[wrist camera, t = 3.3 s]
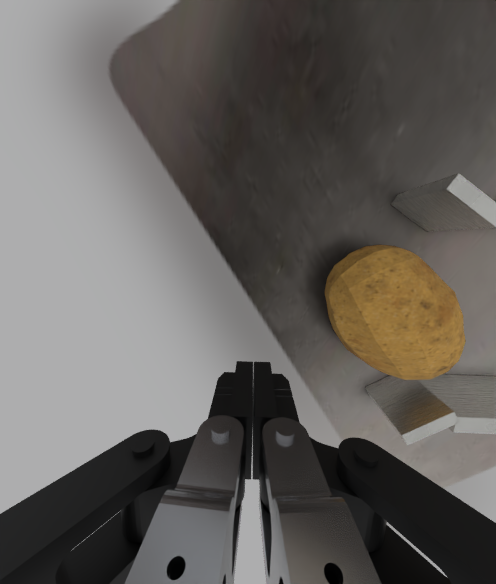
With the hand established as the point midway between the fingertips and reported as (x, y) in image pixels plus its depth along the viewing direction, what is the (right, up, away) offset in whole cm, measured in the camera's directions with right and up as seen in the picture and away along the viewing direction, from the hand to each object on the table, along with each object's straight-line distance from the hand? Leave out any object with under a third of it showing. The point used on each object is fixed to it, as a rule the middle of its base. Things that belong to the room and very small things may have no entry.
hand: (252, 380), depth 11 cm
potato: (+12, +3, +15) cm, 20 cm away
